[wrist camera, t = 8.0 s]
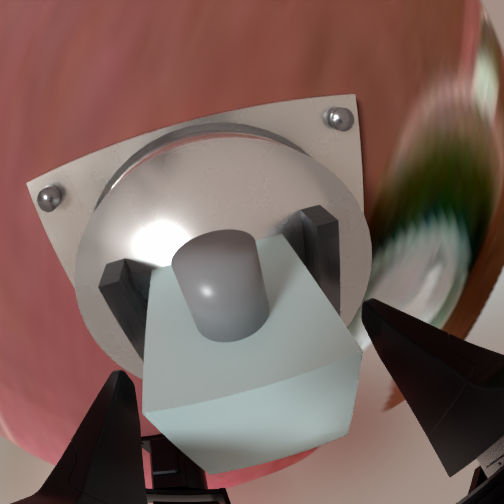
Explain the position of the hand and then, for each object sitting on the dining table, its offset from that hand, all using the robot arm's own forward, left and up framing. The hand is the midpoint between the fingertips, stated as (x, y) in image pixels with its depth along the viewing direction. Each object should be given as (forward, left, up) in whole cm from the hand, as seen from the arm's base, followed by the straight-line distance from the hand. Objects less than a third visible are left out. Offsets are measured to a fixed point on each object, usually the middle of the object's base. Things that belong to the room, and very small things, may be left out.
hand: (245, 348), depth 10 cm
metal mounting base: (0, 0, -8) cm, 8 cm away
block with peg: (+1, 0, -3) cm, 3 cm away
